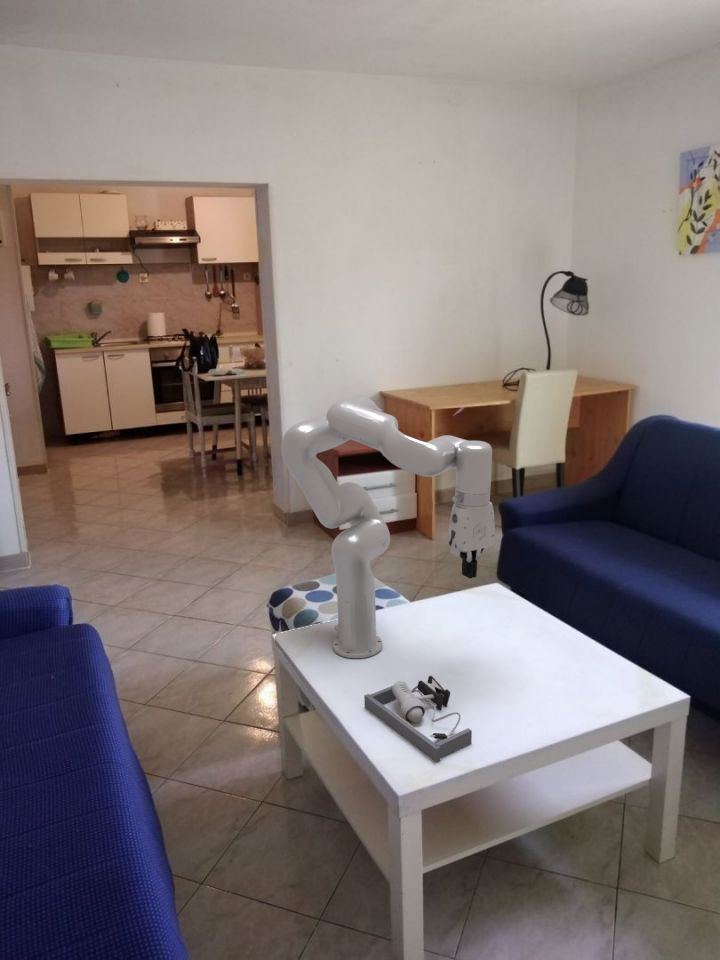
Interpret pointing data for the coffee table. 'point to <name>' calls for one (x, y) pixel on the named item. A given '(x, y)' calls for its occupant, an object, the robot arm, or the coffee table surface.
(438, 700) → the clip-on lamp
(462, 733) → the grey u-shaped handle
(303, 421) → the robot arm
